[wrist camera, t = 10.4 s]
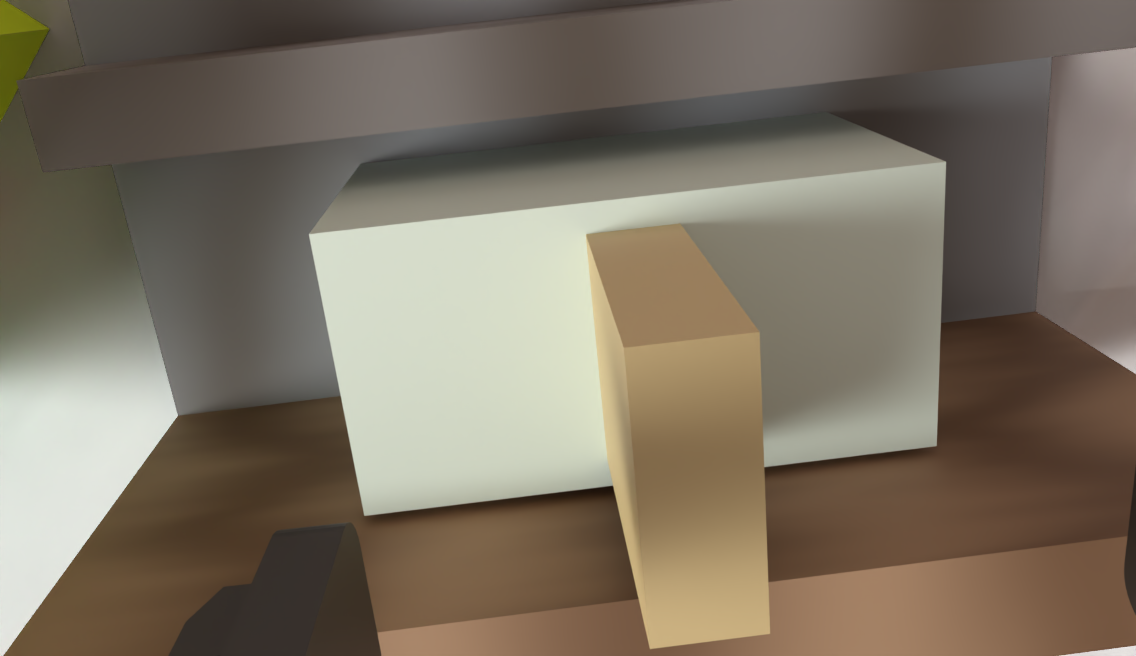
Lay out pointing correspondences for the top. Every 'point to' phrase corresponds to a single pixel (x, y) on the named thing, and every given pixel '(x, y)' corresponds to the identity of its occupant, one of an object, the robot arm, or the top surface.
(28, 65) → the puzzle toy
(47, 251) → the top surface
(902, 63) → the board
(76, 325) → the top surface
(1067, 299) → the top surface
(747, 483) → the wide pale green cuboid
